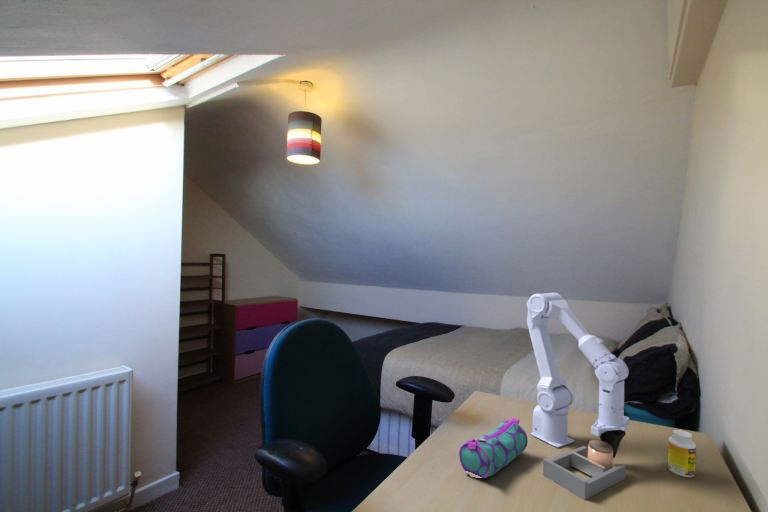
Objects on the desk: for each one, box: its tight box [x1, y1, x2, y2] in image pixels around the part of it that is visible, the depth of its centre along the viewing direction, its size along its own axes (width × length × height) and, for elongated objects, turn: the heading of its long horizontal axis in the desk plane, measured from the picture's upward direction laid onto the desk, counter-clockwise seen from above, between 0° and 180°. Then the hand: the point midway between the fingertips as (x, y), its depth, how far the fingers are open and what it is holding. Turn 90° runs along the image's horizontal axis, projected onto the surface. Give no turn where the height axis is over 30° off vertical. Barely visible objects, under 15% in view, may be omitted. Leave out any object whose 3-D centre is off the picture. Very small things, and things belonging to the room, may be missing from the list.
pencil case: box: [458, 417, 528, 479], centre depth 101 cm, size 21×9×10 cm, turn 133°
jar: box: [587, 439, 614, 471], centre depth 98 cm, size 6×6×7 cm
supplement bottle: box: [667, 429, 697, 478], centre depth 98 cm, size 6×6×10 cm
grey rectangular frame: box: [542, 445, 627, 501], centre depth 96 cm, size 11×17×4 cm, turn 120°
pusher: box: [571, 451, 605, 478], centre depth 96 cm, size 8×1×3 cm, turn 30°
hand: (609, 456), depth 101 cm, fingers closed
